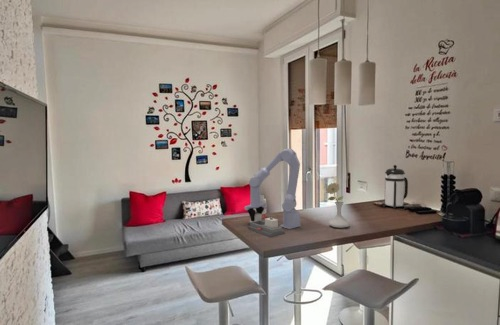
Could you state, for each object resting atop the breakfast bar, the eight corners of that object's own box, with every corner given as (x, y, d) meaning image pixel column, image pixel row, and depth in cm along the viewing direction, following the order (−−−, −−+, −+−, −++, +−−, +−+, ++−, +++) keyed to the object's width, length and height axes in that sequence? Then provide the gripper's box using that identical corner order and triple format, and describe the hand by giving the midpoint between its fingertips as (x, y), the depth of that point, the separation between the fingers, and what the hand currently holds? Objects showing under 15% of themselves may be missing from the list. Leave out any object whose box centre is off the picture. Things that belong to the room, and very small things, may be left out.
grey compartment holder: (261, 225, 186) (261, 211, 185) (284, 233, 171) (284, 217, 170) (247, 228, 180) (247, 213, 179) (270, 237, 165) (270, 220, 164)
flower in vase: (348, 224, 187) (348, 181, 185) (350, 229, 176) (351, 184, 174) (324, 223, 190) (325, 181, 188) (326, 228, 178) (326, 184, 176)
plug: (255, 221, 194) (255, 210, 193) (261, 224, 189) (261, 212, 189) (249, 223, 191) (249, 211, 191) (256, 225, 187) (256, 213, 186)
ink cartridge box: (267, 216, 206) (266, 194, 204) (264, 218, 201) (264, 195, 200) (254, 215, 209) (254, 193, 208) (251, 217, 204) (251, 194, 203)
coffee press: (407, 210, 220) (408, 166, 217) (382, 208, 226) (383, 165, 224) (407, 205, 235) (408, 164, 233) (383, 203, 242) (384, 163, 239)
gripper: (260, 195, 197) (260, 216, 198) (241, 198, 188) (241, 221, 189) (268, 196, 191) (268, 219, 192) (248, 199, 182) (249, 223, 183)
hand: (255, 220), depth 190 cm, fingers closed on plug, 4 cm apart
